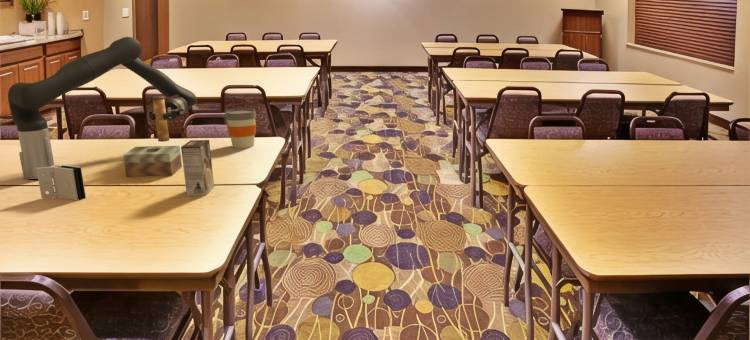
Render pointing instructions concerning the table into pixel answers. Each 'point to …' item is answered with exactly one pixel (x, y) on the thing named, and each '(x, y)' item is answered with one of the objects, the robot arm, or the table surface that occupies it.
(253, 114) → the reusable coffee cup
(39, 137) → the robot arm
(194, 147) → the coffee box
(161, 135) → the key peg
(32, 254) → the table surface
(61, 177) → the hinge
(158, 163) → the square hole block
